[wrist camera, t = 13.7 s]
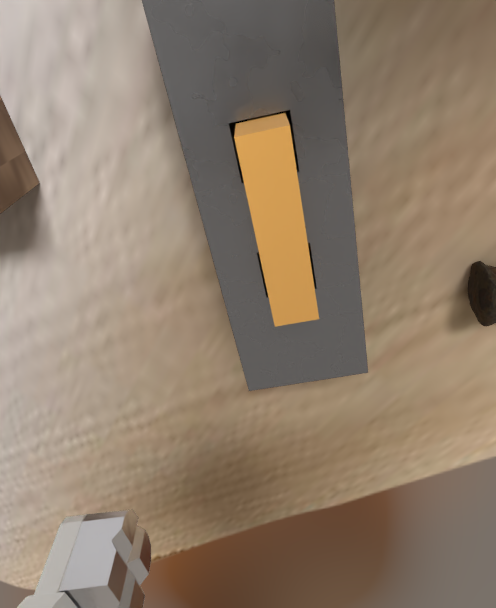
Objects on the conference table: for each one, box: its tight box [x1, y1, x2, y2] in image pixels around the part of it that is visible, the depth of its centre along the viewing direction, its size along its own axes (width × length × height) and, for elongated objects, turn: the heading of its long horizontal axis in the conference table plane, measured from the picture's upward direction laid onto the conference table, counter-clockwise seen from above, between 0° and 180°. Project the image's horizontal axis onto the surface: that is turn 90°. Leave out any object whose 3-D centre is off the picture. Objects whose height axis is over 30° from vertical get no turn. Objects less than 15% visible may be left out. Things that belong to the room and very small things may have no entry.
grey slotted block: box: [142, 0, 368, 391], centre depth 27 cm, size 24×8×6 cm, turn 12°
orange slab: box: [234, 113, 319, 327], centre depth 25 cm, size 10×2×8 cm, turn 12°
